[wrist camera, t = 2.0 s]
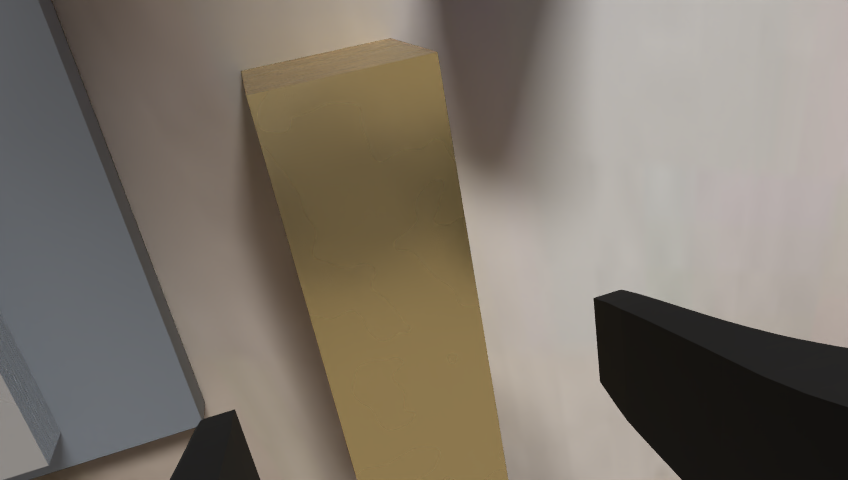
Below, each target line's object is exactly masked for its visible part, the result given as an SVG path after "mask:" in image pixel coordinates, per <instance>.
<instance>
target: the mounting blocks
mask: <svg viewBox="0 0 848 480" xmlns="http://www.w3.org/2000/svg"><path fill="white" fill-rule="evenodd" d="M60 433H61V431H60V429H59V427H58V425H57V423H56V421H55V419H54V417H53V415H52V413H51V411H50V409H49V407H48V405H47V403H46V401H45V399H44V397H43V395H42V393H41V391H40V389H39V387H38V385H37V383H36V381H35V379H34V377H33V375H32V373H31V371H30V369H29V367H28V365H27V363H26V361H25V359H24V357H23V355H22V353H21V351H20V349H19V347H18V345H17V343H16V341H15V339H14V337H13V335H12V334H11V332H10V330H9V328H8V326H7V324H6V322H5V320H4V318H3V316H2V314H1V312H0V480H4V479H7V478H10V477H14V476H17V475H20V474H23V473H26V472H30V471H33V470H36V469H39V468H42V467H46V466H49V463H50V461H51V458H52V455H53V452H54V450H55V447H56V444H57V442H58V439H59V436H60Z"/></svg>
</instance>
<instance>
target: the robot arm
mask: <svg viewBox="0 0 848 480" xmlns="http://www.w3.org/2000/svg"><path fill="white" fill-rule="evenodd" d="M594 309H595V322H596V335H597V348H598V360H599V373H600V382H601V384H602V385H603V386H604V388H605V389H606V391H607V392H608V394H609V395H610V397H611V398H612V400H613V401H614V403H615V404H616V406H617V407H618V408H619V410H620V411H621V412H622V414H623V415H624V417H625V418H626V419H627V421H628V422H629V423H630V424H631V425H632V426H633V427H634V429H635V430H636V431H637V432H638V433H639V434H640V435H641V436H642V437H643V438H644V440H645V441H646V442H647V443H648V444H649V445H650V446H651V447H652V448H653V449H654V450H655V451H656V453H657V454H658V455H659V456H660V457H661V458H662V459H663V460H664V461H665V462H666V463H667V464H668V465H669V466H670V467H671V469H672V470H673V471H674V472H675V473H676V474H677V475H678V476H679V477H680V478H681V479H682V480H848V348H844V347H838V346H832V345H827V344H822V343H816V342H811V341H806V340H801V339H796V338H791V337H786V336H782V335H778V334H774V333H770V332H766V331H762V330H758V329H754V328H750V327H746V326H742V325H739V324H735V323H732V322H728V321H725V320H721V319H718V318H715V317H711V316H708V315H705V314H701V313H698V312H695V311H692V310H689V309H685V308H682V307H679V306H676V305H673V304H670V303H667V302H663V301H660V300H657V299H654V298H650V297H647V296H644V295H640V294H637V293H633V292H629V291H625V290H618V291H615V292H612V293H609V294H605V295H602V296H599V297H596V298H594ZM170 480H260V478H259V475H258V472H257V470H256V467H255V464H254V461H253V459H252V456H251V453H250V450H249V447H248V445H247V442H246V439H245V436H244V434H243V431H242V428H241V425H240V423H239V420H238V417H237V414H236V411H235V410H232V411H228V412H225V413H222V414H219V415H215V416H212V417H209V418H206V419H203V420H201V421H200V422H199V424H198V425H197V427H196V429H195V431H194V433H193V435H192V437H191V439H190V441H189V443H188V445H187V447H186V449H185V451H184V453H183V455H182V457H181V459H180V461H179V463H178V465H177V467H176V469H175V471H174V473H173V475H172V477H171V478H170Z"/></svg>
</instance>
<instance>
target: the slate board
mask: <svg viewBox="0 0 848 480" xmlns="http://www.w3.org/2000/svg"><path fill="white" fill-rule="evenodd" d="M0 312H1V314H2V316H3V318H4V320H5V322H6V324H7V326H8V328H9V330H10V332H11V334H12V335H13V337H14V339H15V341H16V343H17V345H18V347H19V349H20V351H21V353H22V355H23V357H24V359H25V361H26V363H27V365H28V367H29V369H30V371H31V373H32V375H33V377H34V379H35V381H36V383H37V385H38V387H39V389H40V391H41V393H42V395H43V397H44V399H45V401H46V403H47V405H48V407H49V409H50V411H51V413H52V415H53V417H54V419H55V421H56V423H57V425H58V427H59V429H60V431H61V433H60V436H59V439H58V442H57V444H56V447H55V450H54V452H53V455H52V458H51V461H50V463H49V466H46V467H42V468H39V469H36V470H33V471H30V472H26V473H23V474H20V475H17V476H14V477H10V478H7V479H4V480H30V479H33V478H36V477H39V476H43V475H46V474H49V473H52V472H55V471H58V470H62V469H65V468H68V467H71V466H74V465H78V464H81V463H84V462H87V461H90V460H93V459H97V458H100V457H103V456H106V455H109V454H112V453H116V452H119V451H122V450H125V449H128V448H132V447H135V446H138V445H141V444H144V443H147V442H151V441H154V440H157V439H160V438H163V437H166V436H170V435H173V434H176V433H179V432H182V431H185V430H189V429H192V428H195V427H197V425H198V424H199V422H200V421H201V420H203V419H204V404H205V402H204V399H203V397H202V394H201V391H200V389H199V386H198V383H197V381H196V378H195V376H194V373H193V370H192V368H191V365H190V363H189V360H188V357H187V355H186V352H185V349H184V347H183V344H182V342H181V339H180V336H179V334H178V331H177V328H176V326H175V323H174V321H173V318H172V315H171V313H170V310H169V308H168V305H167V302H166V300H165V297H164V294H163V292H162V289H161V287H160V284H159V281H158V279H157V276H156V273H155V271H154V268H153V266H152V263H151V260H150V258H149V255H148V253H147V250H146V247H145V245H144V242H143V239H142V237H141V234H140V232H139V229H138V226H137V224H136V221H135V219H134V216H133V213H132V211H131V208H130V205H129V203H128V200H127V198H126V195H125V192H124V190H123V187H122V184H121V182H120V179H119V177H118V174H117V171H116V169H115V166H114V164H113V161H112V158H111V156H110V153H109V150H108V148H107V145H106V143H105V140H104V137H103V135H102V132H101V129H100V127H99V124H98V122H97V119H96V116H95V114H94V111H93V109H92V106H91V103H90V101H89V98H88V95H87V93H86V90H85V88H84V85H83V82H82V80H81V77H80V75H79V72H78V69H77V67H76V64H75V61H74V59H73V56H72V54H71V51H70V48H69V46H68V43H67V40H66V38H65V35H64V33H63V30H62V27H61V25H60V22H59V20H58V17H57V14H56V12H55V9H54V6H53V4H52V1H51V0H0Z"/></svg>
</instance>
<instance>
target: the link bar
mask: <svg viewBox="0 0 848 480" xmlns="http://www.w3.org/2000/svg"><path fill="white" fill-rule="evenodd" d="M241 73H242V78H243V83H244V88H245V93H246V97H247V101H248V104H249V108H250V111H251V114H252V118H253V121H254V125H255V128H256V132H257V135H258V139H259V142H260V146H261V149H262V153H263V156H264V160H265V163H266V166H267V170H268V173H269V177H270V180H271V184H272V187H273V191H274V194H275V198H276V201H277V205H278V208H279V212H280V215H281V218H282V222H283V225H284V229H285V232H286V236H287V239H288V243H289V246H290V250H291V253H292V257H293V260H294V263H295V267H296V270H297V274H298V277H299V281H300V284H301V288H302V291H303V295H304V298H305V302H306V305H307V309H308V312H309V315H310V319H311V322H312V326H313V329H314V333H315V336H316V340H317V343H318V347H319V350H320V354H321V357H322V361H323V364H324V367H325V371H326V374H327V378H328V381H329V385H330V388H331V392H332V395H333V399H334V402H335V406H336V409H337V412H338V416H339V419H340V423H341V426H342V430H343V433H344V437H345V440H346V444H347V447H348V451H349V454H350V458H351V461H352V464H353V468H354V471H355V475H356V478H357V480H508V476H507V470H506V464H505V458H504V452H503V446H502V440H501V434H500V428H499V421H498V415H497V409H496V403H495V397H494V391H493V385H492V379H491V373H490V367H489V361H488V355H487V349H486V343H485V337H484V331H483V325H482V319H481V313H480V307H479V301H478V294H477V288H476V282H475V276H474V270H473V264H472V258H471V252H470V246H469V240H468V234H467V228H466V222H465V216H464V210H463V204H462V198H461V192H460V186H459V180H458V174H457V167H456V161H455V155H454V149H453V143H452V137H451V131H450V125H449V119H448V113H447V107H446V101H445V95H444V89H443V83H442V77H441V71H440V65H439V59H438V53H437V52H436V51H432V50H429V49H425V48H422V47H419V46H415V45H412V44H408V43H405V42H402V41H398V40H395V39H391V38H389V39H384V40H380V41H375V42H371V43H366V44H362V45H357V46H353V47H348V48H344V49H339V50H334V51H330V52H325V53H321V54H316V55H312V56H307V57H303V58H298V59H294V60H289V61H284V62H280V63H275V64H271V65H266V66H262V67H257V68H253V69H248V70H244V71H241Z"/></svg>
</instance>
